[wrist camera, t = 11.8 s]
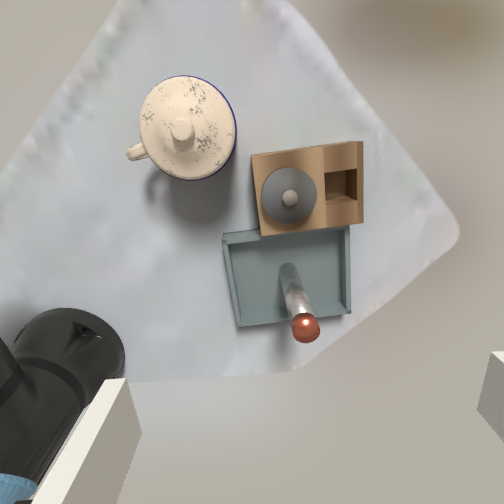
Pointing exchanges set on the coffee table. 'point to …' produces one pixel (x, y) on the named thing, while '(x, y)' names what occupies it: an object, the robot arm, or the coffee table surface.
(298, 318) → the pin
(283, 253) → the tray
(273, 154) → the tan wooden block
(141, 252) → the coffee table surface
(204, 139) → the teacup with lid
